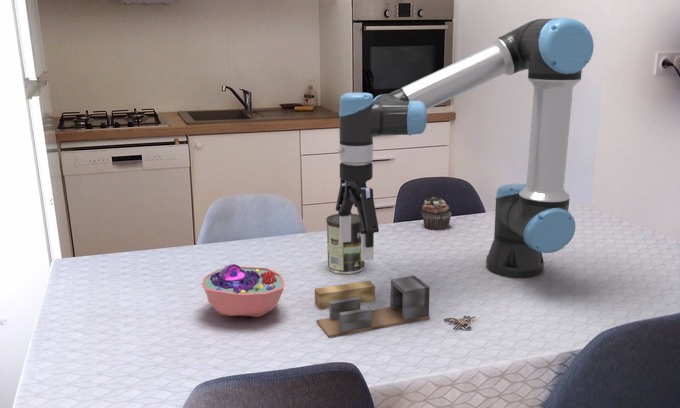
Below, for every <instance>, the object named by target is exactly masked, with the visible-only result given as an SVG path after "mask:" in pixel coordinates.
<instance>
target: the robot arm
mask: <svg viewBox="0 0 680 408" xmlns="http://www.w3.org/2000/svg"><path fill="white" fill-rule="evenodd" d="M594 44H595V43H594V39H593V36H592V33H591V31H590V29H588V28H587V26H586V25H585V24H584V23H583V22H581V21H579V20H577V19H574V18H568V17H555V18H554V17H553V18H537V19H534V20H531V21H528V22H526V23H524V24H523V25H520V26H519V27H516V28H514V29H512V30H511V31H509V32H507V33H505V34H503V35H501V36H499V37H497V38H495V39H494V40H493V41H492V45H490V46H488V47H485V48H483V49H482V50H479V51H477V52H475V53H472V54H471V55H468V56H466V57H464V58H462V59H460V60H458V61H456V62H454V63H452V64H448V65H447V66H445V67H443V68H441V69H438V70H436V71H434V72H433V73H430V74H428V75H425V76H423V77H422V78H419V79H417V80H415V81H413V82H411V83H409V84H407V85H404V86H402V87H401V88H399V89H396V90H393V91H391V92H390V93H384V94H383V93H382V94H379V95H377V96H375V97H374V95H373V94H372V93H369V92H347V93H346V92H345V93H343V94H342V95H341V96H340V98H339V112H338V116H339V118H338V119H339V120H338V121H339V122H338V123H339V124H338V125H339V148H338V149H337V152H338V153H339V161H340V163H339V180H340V183H339V190H338V193H337V194H338V195H337V200H336V203H335V204H336V205H335V211H336V212H337V214H339V216H340V243H344V242H351V216H350V215H349V214H353V213H352V211H351V210H352V209H353V206H354V207H355V208H356V210H357V214H358V215H359V218H360V221H361V225H362V229H363V230H362V231H361V260H362V261H364V262H365V261H371V260H374V255H375V251H374V250H375V249H374V248H375V247H374V246H375V245H374V244H375V233H379V232H380V229H379V224H378V223H379V222H378V218H377V212H376V207H375V201H374V190H373V188H372V187H370V188H368V187H367V182H369V181H370V180H372V179H373V175H374V173H373V172H374V171H373V168H374V167H373V165H374V164H373V163H372V161H374V142H373V141H374V140H373V139H374V136H377V137H379V136H413V135H421V134H423V133H424V132H425V130H426V129H427V128H426V127H427V123H428V113H427V110H430V109H432V108H433V107H435V106H438V105H440V104H442V103H445V102H447V101H449V100H451V99H453V98H455V97H457V96H459V95H461V94H463V93H466V92H468V91H470V90H473V89H475V88H477V87H479V86H481V85H483V84H485V83H487V82H489V81H492V80H493V79H496V78H498V77H500V76H502V75H505V76H506V75H507V76H512V75H514V74H516V73H519V72H522V71H525V70H528V71H527V80H528V81H529V82H530V83H531V84H532V86H533V94H532V95H533V96H532V106H531V107H532V108H531V120H530V121H531V122H530V133H529V149H528V161H527V174H526V183H512V184H503V185H499V187H498V188H497V189H496V196H495V209H494V210H495V213H494V215H495V216H494V231H493V232H494V234H493V235H494V236H493V241H492V243H491V246H490V248H489V251H488V254H487V255H486V259H485V267H486V268H487V270H488V271H490V272H491V273H493V274H496V275H499V276H503V277H508V278H515V279H517V278H518V279H519V278H521V279H524V278H525V279H526V278H533V277H534V278H535V277H537V276H540V275H542V274H543V273H544V271H545V261H544V257H543V254H553V253H556V252H558V251H561V250H562V249H563V248H564V247H565V246H567V245H568V244H569V243H570V242H572V239H573V238H574V235H575V234H576V228H577V227H576V225H577V224H576V221H575V218H574V217H573V215H572V214H571V212H570V211H569V209H570V208H569V207H570V198H571V197H570V194H568V193H567V191H566V190H565V189H564V188H565V179H566V176H565V175H566V169H567V168H566V166H567V155H568V144H569V135H570V134H569V133H570V124H571V123H570V122H571V111H572V102H573V93H574V92H573V91H574V87H576V86H577V84H578V83H579V82H581V80H582V73H583V69H584V68H585V67H586V65H587V64H588V63H590V61H591V58H592V56H593V53H594V46H595V45H594ZM347 215H349V216H347Z"/></svg>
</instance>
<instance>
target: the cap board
mask: <svg viewBox="0 0 680 408" xmlns="http://www.w3.org/2000/svg"><path fill="white" fill-rule="evenodd" d="M389 298H390V301H389V302H390V304H389V305H390V306H387V307H384V308H383V307H382V308H376V309H372V308H370V307H366V308H365V307H364V308H362V307H361V304H362V303H361V299H360V298H359V297H355V298H349V299H343V300H337V301H331V302H329V308H328V309H329V317H326V318H320V319H317V320H316V324H317V325H318V326H319V327H320V329H321V330H322V332H324V334H325V335H326V336H327V337H328V338H329V339H330V338H336V337H341V336H348V335H353V334H357V333H362V332H368V331H374V330H377V329H383V328H388V327H394V326H398V325H399V326H400V325H405V324H410V323H416V322H421V321H425V320H426V321H427V320H430V286H429V285H428V284H426V283H425V282H424V281H422V280H421V279H419V278H418V277H417V276H416V275H411V276H410V275H409V276H404V277H398V278H397V277H396V278H392V279H390V297H389Z"/></svg>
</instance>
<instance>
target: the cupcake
mask: <svg viewBox="0 0 680 408" xmlns="http://www.w3.org/2000/svg"><path fill="white" fill-rule="evenodd" d="M421 214H422V220H423V226H424V228H425V229H427V230H429V231H430V230H431V231H444V230H448V229H449V227H450V221H451V216H452V212H451V211H450V205H448V204H447V203H446V201H445V200H443V198H442V197H440V196H439V197H437V196H436V195H433V196H432V197H431V198H425V199H424V204H423V205H422V207H421Z"/></svg>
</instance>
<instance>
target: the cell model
mask: <svg viewBox="0 0 680 408" xmlns="http://www.w3.org/2000/svg"><path fill="white" fill-rule="evenodd" d="M201 286H202V287H201V288H203V290H204V293H205V295H206V298H207V302H208V303H209V305H211V307H212V308H213V309H214V310H215V311H216V312H217V313H219V314H220V315H223V316H228V317H240V316H241V317H252V318H258V317H259V318H260V317H263V316H264V315H266V314H268V313H269V312H270V311H272V310H273V309H274V308H275V307H276V306H277V305H278V304H279V302H280V299H281V297H282V295H283V291H284V288H285V286H286V285H285V280H284V277H283V275H282V274H281V273H279V272H277V271H275V270H273V269H271V268H268V267H255V266H241V265H239V264H238V265H237V264H234V263H232V264H228V265H226V266H224V267H223V268H219V269H217V270H214V271H211V273H208V274H207V275H205V276H204V277H203V279H202V282H201Z"/></svg>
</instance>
